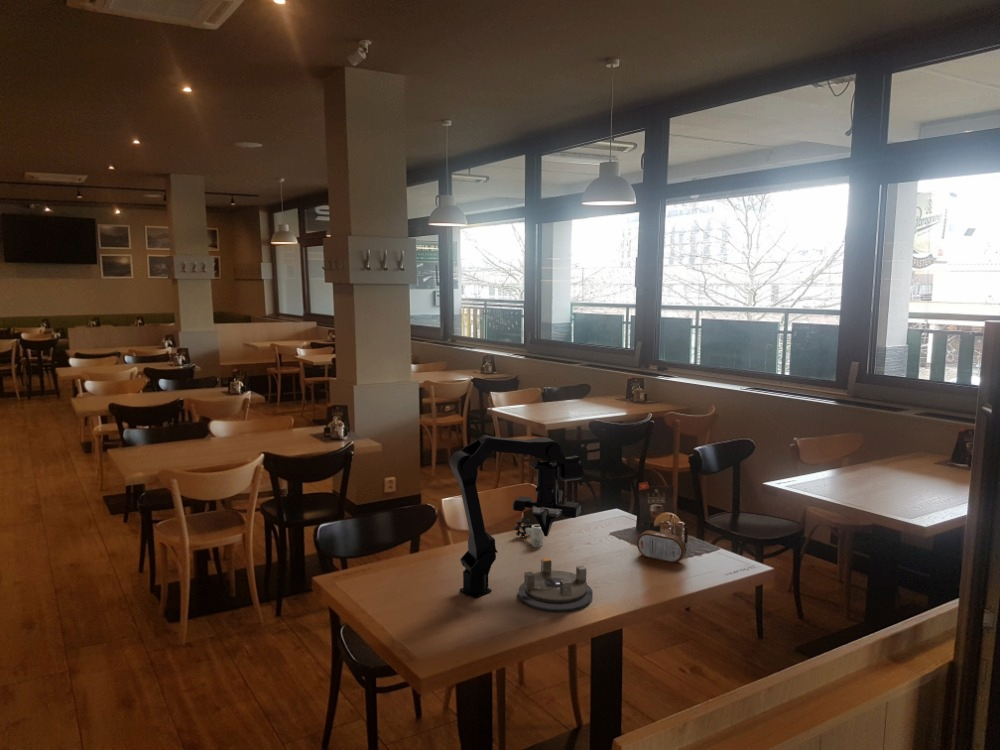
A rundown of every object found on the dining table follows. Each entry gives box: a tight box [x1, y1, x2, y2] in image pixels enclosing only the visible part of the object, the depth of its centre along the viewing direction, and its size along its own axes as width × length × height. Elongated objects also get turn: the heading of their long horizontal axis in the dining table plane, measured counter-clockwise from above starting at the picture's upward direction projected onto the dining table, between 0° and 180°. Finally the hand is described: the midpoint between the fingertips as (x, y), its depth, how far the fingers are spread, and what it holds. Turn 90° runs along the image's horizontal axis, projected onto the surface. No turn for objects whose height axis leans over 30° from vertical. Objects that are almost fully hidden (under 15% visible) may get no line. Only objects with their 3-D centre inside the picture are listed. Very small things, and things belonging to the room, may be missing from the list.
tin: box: [636, 529, 687, 564], centre depth 214 cm, size 15×3×8 cm, turn 58°
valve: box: [513, 517, 545, 548], centre depth 230 cm, size 7×7×12 cm
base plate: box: [518, 582, 594, 613], centre depth 189 cm, size 20×20×2 cm
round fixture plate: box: [523, 557, 588, 604], centre depth 188 cm, size 17×17×6 cm
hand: (546, 535), depth 198 cm, fingers closed
